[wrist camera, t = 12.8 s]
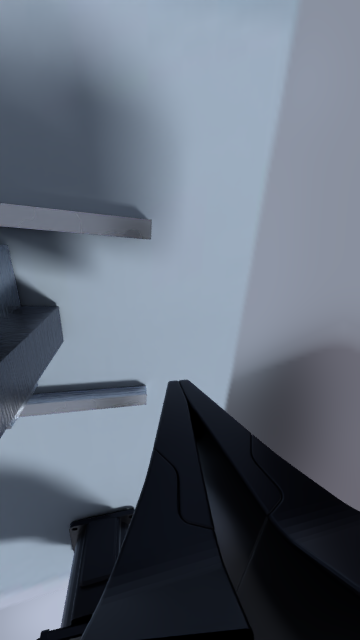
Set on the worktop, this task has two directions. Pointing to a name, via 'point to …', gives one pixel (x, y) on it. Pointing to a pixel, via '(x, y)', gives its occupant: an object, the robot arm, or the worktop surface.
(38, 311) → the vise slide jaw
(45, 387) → the worktop surface
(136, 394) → the frame
